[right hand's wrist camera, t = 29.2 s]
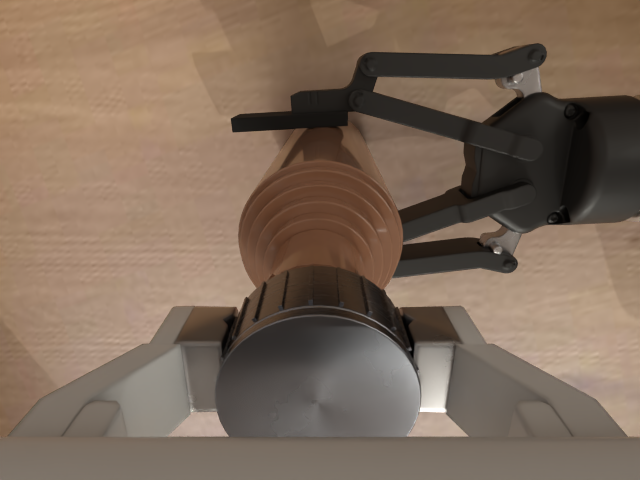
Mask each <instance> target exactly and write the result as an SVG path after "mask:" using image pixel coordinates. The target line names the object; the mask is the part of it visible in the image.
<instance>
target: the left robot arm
mask: <svg viewBox="0 0 640 480" xmlns="http://www.w3.org/2000/svg"><path fill="white" fill-rule="evenodd" d="M546 54H547V51H546V48H545V47H544V46H543V45H542V44H539V43H537V44H529V45H522V46H516V47H512V48H509V49H506V50H503V51H500V52H498V53H495V54H492V55H472V54H430V53H389V52H370V53H366V54H364V55H362V56H361V57H360V58H359V59H358V61H357V65H356V69H355V72H354V75H353V78H352V81H351V82H350V84H349V85H348V86H346V87H344V88H341V89H326V90H309V91H300V92H298V93H296V94H294V95H292V96H291V107H292V111H286V112H268V113H251V114H239V115H237V116H235V117H233V118H231V124H232V131H233V132H248V131H266V130H284V129H302V128H319V127H337V126H348V112H351V111H356V112H360V113H363V114H367V115H370V116H374V117H377V118H381V119H384V120H388V121H391V122H395V123H399V124H402V125H406V126H409V127H413V128H416V129H420V130H423V131H427V132H430V133H434V134H437V135H441V136H445V137H448V138H452V139H455V140H459V141H462V142H464V157H465V162H466V166H465V169H464V172H463V175H462V181H461V185H460V186H458V187H455V188H452V189H450V190H448V191H446V193H445V194H443V195H440V196H438V197H435V198H432V199H429V200H427V201H424V202H421V203H418V204H416V205H413V206H410V207H407V208H404V209H402V210H399V211H398V212H399V215H400V218H401V223H402V228H403V242H405V241H408V240H411V239H414V238H417V237H420V236H422V235H425V234H428V233H431V232H434V231H437V230H440V229H442V228H445V227H448V226H451V225H454V224H457V223H469V222H473V221H476V220H479V219H482V218H485V217H487V216H489V217H491V218H492V219H494V220H495V221H497V222H498V223H499V224H501V225H502V226H501V228H500V229H499V230H498V231H496V232H489V233H483V234H481V236H480V239H479V238H456V239H448V240H440V241H431V242H423V243H415V244H406V245H403V246H402V252H401V256H400V260H399V262H398V265H397V267H396V270H395V272H394V274H393V276H392V278H399V277H407V276H416V275H425V274H433V273H442V272H451V271H459V270H468V269H477V268H482V269H487V270H492V271H497V272H502V273H511V272H513V271H514V270H515V269H516V268H517V265H518V262H517V260H516V259H515V257H513V253H514V251H515V249H516V246H517V244H518V242H519V239H520V237H521V235H522V234H523V233H528V232H530V231H532V230H534V229H536V228H538V227H541V226H544V225H574V224H595V223H615V222H621V221H624V220H625V221H631V222H640V95H637V96H634V97H632V96H626V95H622V96H604V97H586V98H569V99H558V98H555V97H553V96H552V95H550V94H548V93H545V92H542V88H541V81H540V73H539V66H540V65H542V63H543V62H544V61H545V59H546ZM377 77H410V78H452V79H495V82H496V84H497V86H498V87H500V88H503V89H513V90H514V91H515V92H516V93H517V97H516V98H515V99H513V100H512V101H511V102H509V103H508V104H507V105H505V106H504V107H503V108H501V109H500V110H499V111H497V112H496V113H495V114H493V115H492V116H491V117H489V118H488V119H487V120H485V121H484V122H483V123H479V122H476V121H472V120H469V119H466V118H462V117H459V116H455V115H451V114H448V113H444V112H441V111H438V110H434V109H431V108H427V107H424V106H420V105H417V104H413V103H410V102H406V101H403V100H399V99H396V98H392V97H389V96H385V95H382V94H379V93H375V92H373V89H374V86H375V83H376V80H377Z"/></svg>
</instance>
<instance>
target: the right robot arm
mask: <svg viewBox="0 0 640 480" xmlns="http://www.w3.org/2000/svg"><path fill="white" fill-rule="evenodd" d="M399 311H400V314H401V317H402V320H403V323H404V326H405V329H406V332H407V336H408V339H409V342H410V345H411V348H412V350H411V354H412V357H413V360H414V364H415V366H416V367H418V368H419V373H418V376H419V380H420V384H421V394H422V395H421V406H420V410H419V411H420V412H446V414H447V415H448V416H449V417H450V418H451V419H452V420H453V421H454V422H455V423H456V424H457V425H458V426H459V427H460V428H461V429H462V430H463V431H464V432H465V433H466V434H467V435H468V436H469V437H167V436H168V435H169V434H170V433H171V432H172V431H173V430H174V429H176V428H177V427H178V426H179V425H180V424H181V423H182V422H183V421H184V420H185V419H186V418H187V417H188V416H189V415H190V412H216V411H217V410H216V404H215V385H216V379H217V376H218V373H219V370H220V367H221V364H222V361H220V357H221V355H222V354H223V352H224V349H225V346H226V343H227V341H228V338H229V332H230V329H231V326H232V325H233V323H234V320H235V317H238V310H237V307H209V306H196V307H195V306H176V307H173V308H172V309H171V311H170V312H169V314H168V315H167V317H166V318H165V320H164V322H163V323H162V325H161V326H160V328H159V329H158V331H157V332H156V334H155V336H154V337H153V339H152V340H151V342H150V343H149V344H142V345H140V346H138V347H136V348H134V349H132V350H130V351H129V352H127V353H125V354H123V355H121V356H119V357H117V358H115V359H114V360H112V361H110V362H108V363H106V364H104V365H102V366H100V367H99V368H97V369H95V370H93V371H91V372H89V373H87V374H86V375H84V376H82V377H80V378H78V379H76V380H74V381H72V382H71V383H69V384H67V385H65V386H63V387H61V388H59V389H57V390H56V391H54V392H52V393H50V394H48V395H46V396H44V397H43V398H41V399H39V400H38V402H37V403H36V404H35V405H34V406H33V407H32V408H31V410H30V411H29V412H28V413H27V414H26V415H25V417H24V418H23V419H22V420H21V421H20V422H19V423H18V425H17V426H16V427H15V428H14V429H13V430H12V431H11V433H10V434H9V435H8V436H7V437H0V480H640V437H628V436H627V435H626V434H625V433H624V432H623V430H622V429H621V428H620V427H619V426H618V425H617V423H616V422H615V421H614V420H613V419H612V417H611V416H610V415H609V414H608V413H607V412H606V410H605V409H604V408H603V407H602V406H601V405H600V403H599V402H598V401H597V400H596V399H594V398H592V397H591V396H589V395H587V394H585V393H583V392H581V391H580V390H578V389H576V388H574V387H572V386H570V385H568V384H567V383H565V382H563V381H561V380H559V379H557V378H555V377H554V376H552V375H550V374H548V373H546V372H544V371H543V370H541V369H539V368H537V367H535V366H533V365H531V364H530V363H528V362H526V361H524V360H522V359H520V358H519V357H517V356H515V355H513V354H511V353H509V352H507V351H506V350H504V349H502V348H500V347H498V346H496V345H495V344H487V343H486V341H485V340H484V338H483V337H482V335H481V334H480V332H479V330H478V329H477V327H476V326H475V324H474V323H473V321H472V320H471V318H470V316H469V315H468V313H467V312H466V310H465V309H464V307H462V306H443V307H442V306H439V307H402V308H400V309H399Z"/></svg>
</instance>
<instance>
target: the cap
mask: <svg viewBox="0 0 640 480" xmlns="http://www.w3.org/2000/svg"><path fill="white" fill-rule="evenodd" d="M411 350H412V348H411V345H410V342H409V339H408V336H407V332H406V329H405V326H404V323H403V320H402V317H401V314H400V311H399V309H398V307H396V308H395V306H394V305H393V303H392V301H391V300H390V298H389V297H388V296H387V295H386V292H385V290H384V289H382V290H381V289H380V288H379V287H378V286H377V285H375V284H374V283H372V282H371V281H369V280H368V279H366V278H365V276H363V275H362V276H360V275H358V274H356V273H354V272H351V271H348V270H345V269H341V268H340V267H337V268H336V267H328V266H314V265H310V266H308V267H301V268H296V269H292V270H289V271H288V270H285V271H284V272H283V273H281V274H278V275H276V276H274V277H272V278H271V279H269V280H267V281H266V282H265V281H263V282H262V283H261V285H260V286H259V287H258V288H257V289H256V290H255V291H254V292H253V293H252V294H251V295H250V296H249V297H248V298H247V297H246V298H245V299H244V302H243V305H242V308H241V310H240V312H239V314H238V317H235V320H234V323H233V325H232V326H231V329H230V332H229V338H228V341H227V343H226V346H225V349H224V352H223V354H222V355H221V357H220V361H222V364H221V367H220V370H219V373H218V376H217V379H216V385H215V404H216V410H217V413H218V416H219V419H220V422H221V424H222V426H223V428H224V429H225V431H226V433H227V434H228V435H229V437H407V436H408V435H409V433H410V432H411V430H412V428H413V427H414V425H415V422H416V420H417V417H418V414H419V410H420V406H421V395H422V394H421V384H420V380H419V376H418V373H419V368H418V367H416V366H415V364H414V360H413V357H412V354H411Z"/></svg>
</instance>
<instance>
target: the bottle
mask: <svg viewBox="0 0 640 480" xmlns="http://www.w3.org/2000/svg"><path fill="white" fill-rule="evenodd" d="M238 238H239V248H240V253H241V257H242V261H243V264H244V267H245V269H246V271H247V273H248V275H249V277H250V279H251V281H252V282H253V284H254V285H255V286H256V288H258V287H259V286H260V285H261V283H262V282H263V281H265V282H266V281H267V280H269V279H271V278H272V277H274V276H276V275H278V274H281V273H283V272H284V271H285V270H288V271H289V270H292V269H296V268H301V267H308V266H310V265H314V266H328V267H336V268H337V267H340V268H341V269H345V270H348V271H351V272H354V273H356V274H358V275H360V276H362V275H363V276H365V278H366V279H368V280H369V281H371V282H372V283H374V284H375V285H377V286H378V287H379V288H380V289H381V290H382V289H384V288H385V287H386V286H387V284H388V283H389V281H390V280H391V278H392V276H393V274H394V272H395V270H396V267H397V265H398V262H399V260H400V256H401V252H402V246H403V228H402V223H401V218H400V215H399V212H398V210H397V207H396V205H395V203H394V201H393V199H392V197H391V195H390V193H389V191H388V189H387V187H386V184H385V182H384V180H383V178H382V176H381V174H380V172H379V170H378V168H377V166H376V164H375V161H374V159H373V157H372V155H371V153H370V151H369V149H368V147H367V145H366V143H365V141H364V139H363V137H362V135H361V133H360V131H359V130H358V129H357V128H356V127H355V125H353V124H352V123H351V122H350V121H348V126H337V127H319V128H302V129H295V130H294V131H293V132H292V134H291V135H290V137H289V138H288V140H287V142H286V143H285V145H284V146H283V148H282V149H281V151H280V152H279V154H278V155H277V157H276V158H275V160H274V161H273V163H272V164H271V166H270V167H269V169H268V170H267V172H266V173H265V175H264V176H263V178H262V179H261V181H260V182H259V184H258V185H257V187H256V188H255V190H254V191H253V193H252V194H251V196H250V198H249V199H248V201H247V203H246V205H245V207H244V210H243V212H242V215H241V219H240V223H239V232H238Z"/></svg>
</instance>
